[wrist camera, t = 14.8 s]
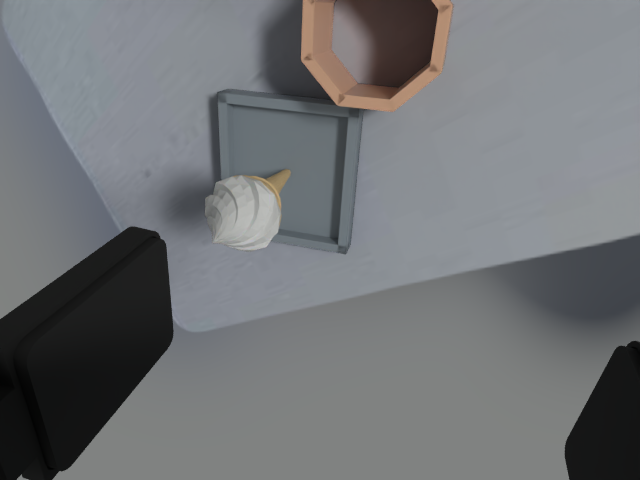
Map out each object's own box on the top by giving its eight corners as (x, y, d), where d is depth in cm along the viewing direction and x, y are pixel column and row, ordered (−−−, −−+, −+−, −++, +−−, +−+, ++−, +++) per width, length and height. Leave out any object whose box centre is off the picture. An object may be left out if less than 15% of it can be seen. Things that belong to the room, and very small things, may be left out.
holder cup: (326, -46, 34) (304, -55, 30) (461, -41, 32) (461, -49, 28) (319, 89, 39) (299, 101, 34) (437, 102, 37) (434, 116, 32)
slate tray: (227, 88, 41) (217, 92, 39) (363, 103, 38) (359, 108, 36) (232, 224, 47) (223, 232, 45) (350, 244, 44) (346, 254, 42)
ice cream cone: (268, 204, 44) (189, 287, 31) (250, 146, 42) (157, 207, 28) (325, 195, 42) (266, 278, 29) (309, 133, 40) (238, 193, 27)
